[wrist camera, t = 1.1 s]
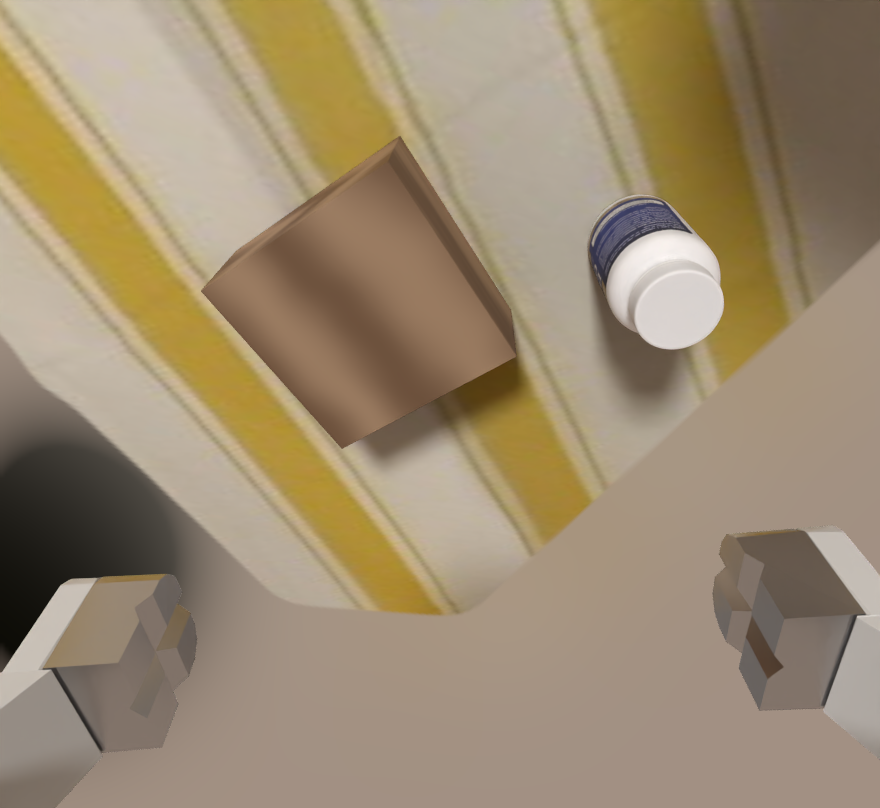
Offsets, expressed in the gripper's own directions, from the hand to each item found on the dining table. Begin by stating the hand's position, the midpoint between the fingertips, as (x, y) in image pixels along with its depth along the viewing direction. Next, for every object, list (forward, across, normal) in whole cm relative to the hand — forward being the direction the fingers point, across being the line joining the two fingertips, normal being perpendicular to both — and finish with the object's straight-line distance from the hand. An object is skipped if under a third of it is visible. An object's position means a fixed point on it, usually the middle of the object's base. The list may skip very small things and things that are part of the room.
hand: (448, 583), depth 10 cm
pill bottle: (+30, -11, +4) cm, 32 cm away
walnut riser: (+31, +4, +6) cm, 31 cm away
